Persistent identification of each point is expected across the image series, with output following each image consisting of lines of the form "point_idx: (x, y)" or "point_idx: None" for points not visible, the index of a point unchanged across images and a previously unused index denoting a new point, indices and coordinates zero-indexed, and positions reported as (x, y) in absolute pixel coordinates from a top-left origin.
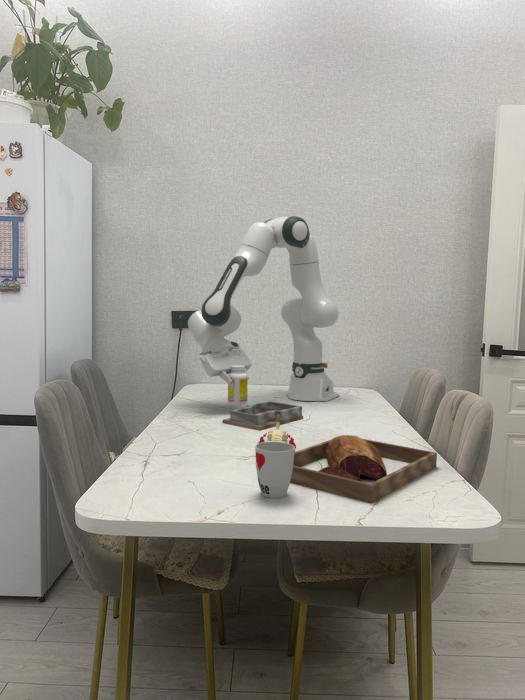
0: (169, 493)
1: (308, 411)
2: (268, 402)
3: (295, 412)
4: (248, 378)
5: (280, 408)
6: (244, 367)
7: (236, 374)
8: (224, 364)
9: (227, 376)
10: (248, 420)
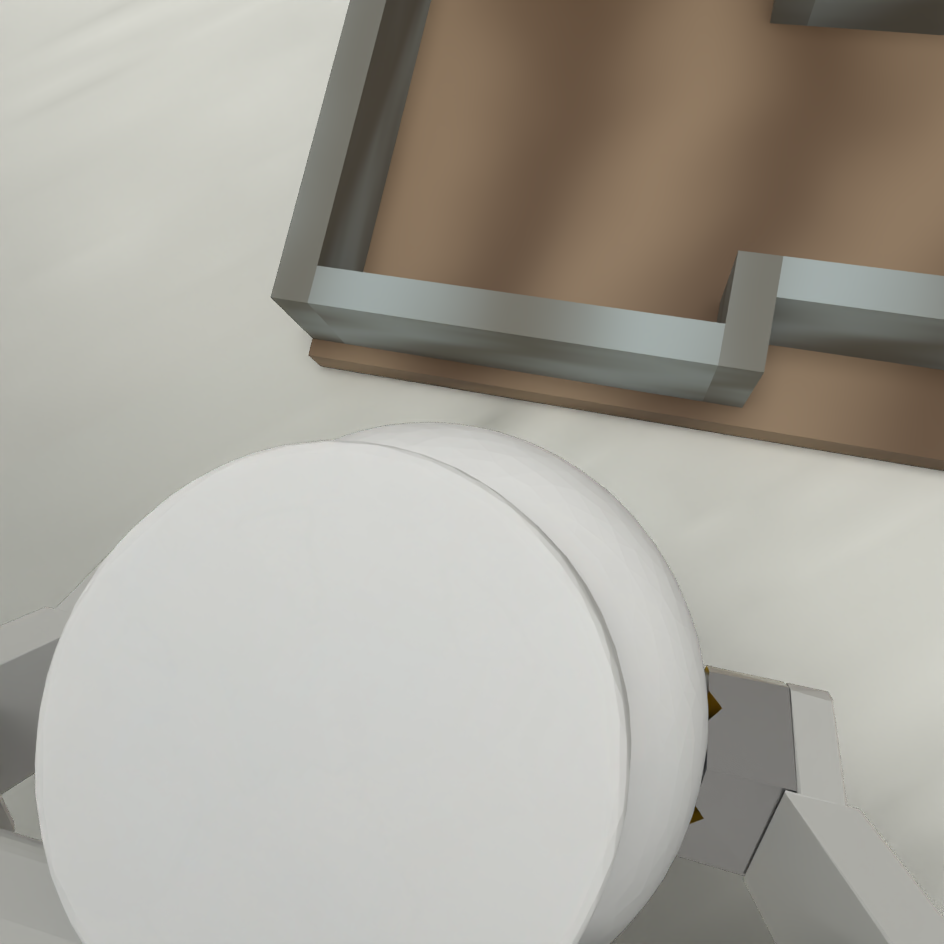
0: None
1: (88, 48)
2: (329, 271)
3: None
4: None
5: (380, 128)
6: (275, 456)
7: (634, 625)
8: None
9: (878, 845)
10: None
